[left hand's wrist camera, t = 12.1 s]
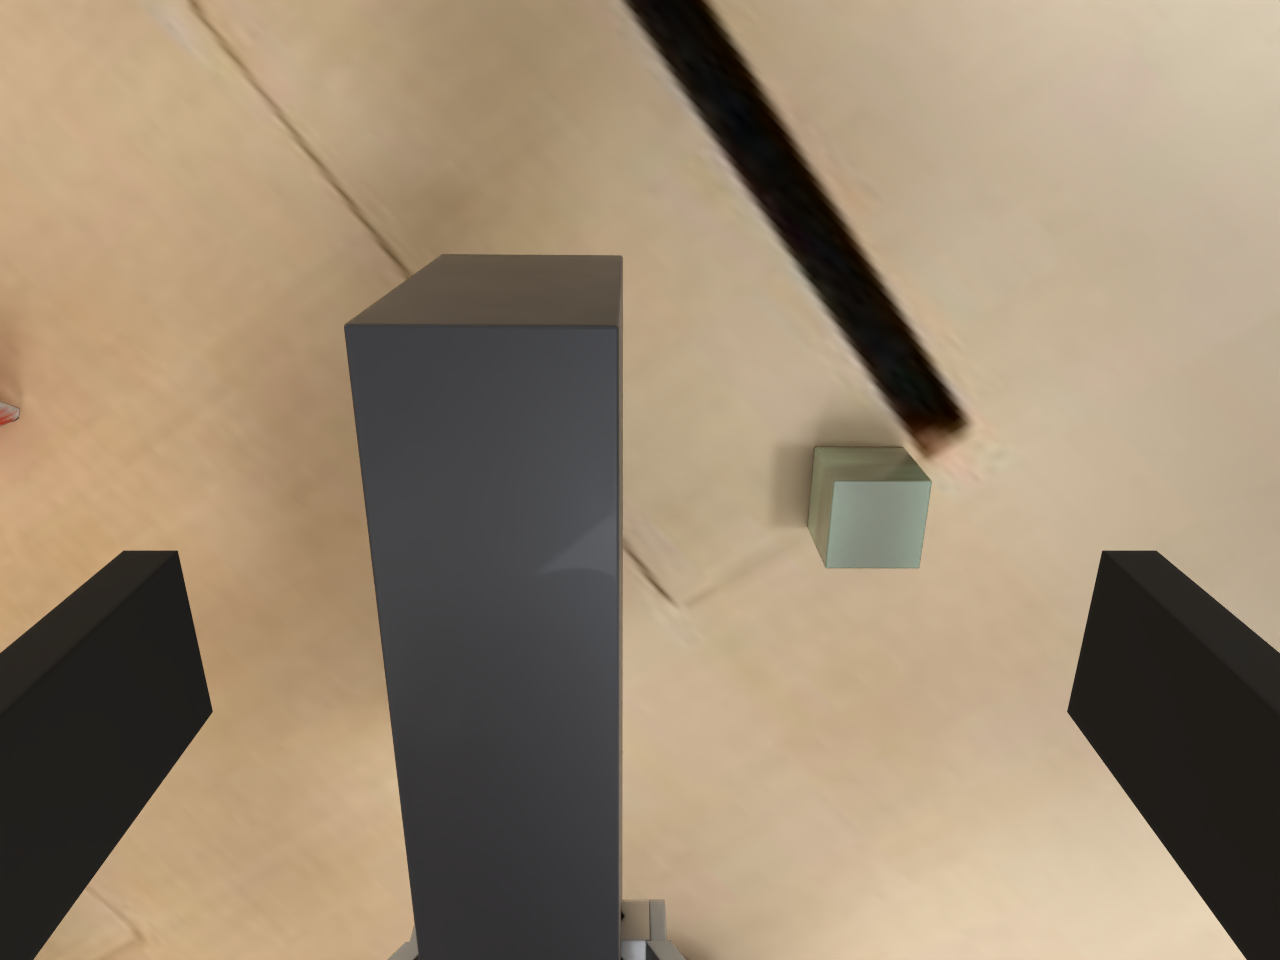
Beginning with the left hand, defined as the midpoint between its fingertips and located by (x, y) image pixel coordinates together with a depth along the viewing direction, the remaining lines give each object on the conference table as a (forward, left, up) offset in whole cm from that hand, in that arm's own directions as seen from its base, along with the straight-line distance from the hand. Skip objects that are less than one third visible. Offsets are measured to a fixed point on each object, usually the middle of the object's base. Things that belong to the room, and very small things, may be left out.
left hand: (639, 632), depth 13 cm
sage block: (-10, +9, -26) cm, 29 cm away
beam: (+3, +9, -14) cm, 17 cm away
